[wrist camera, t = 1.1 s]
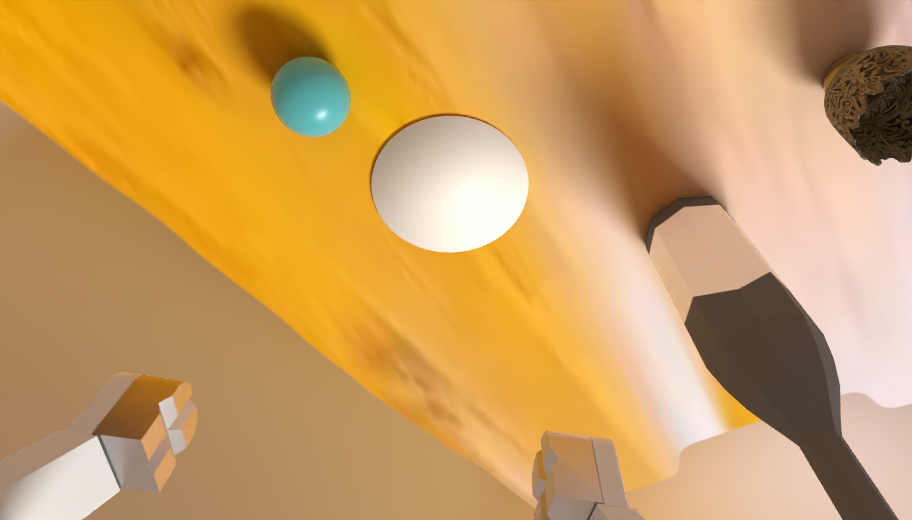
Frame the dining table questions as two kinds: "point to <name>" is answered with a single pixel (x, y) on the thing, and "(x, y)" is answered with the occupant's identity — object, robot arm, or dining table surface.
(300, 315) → the dining table surface
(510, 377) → the dining table surface
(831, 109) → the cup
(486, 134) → the cream mark
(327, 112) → the teal ball
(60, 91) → the dining table surface
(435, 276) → the dining table surface
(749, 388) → the wine bottle
